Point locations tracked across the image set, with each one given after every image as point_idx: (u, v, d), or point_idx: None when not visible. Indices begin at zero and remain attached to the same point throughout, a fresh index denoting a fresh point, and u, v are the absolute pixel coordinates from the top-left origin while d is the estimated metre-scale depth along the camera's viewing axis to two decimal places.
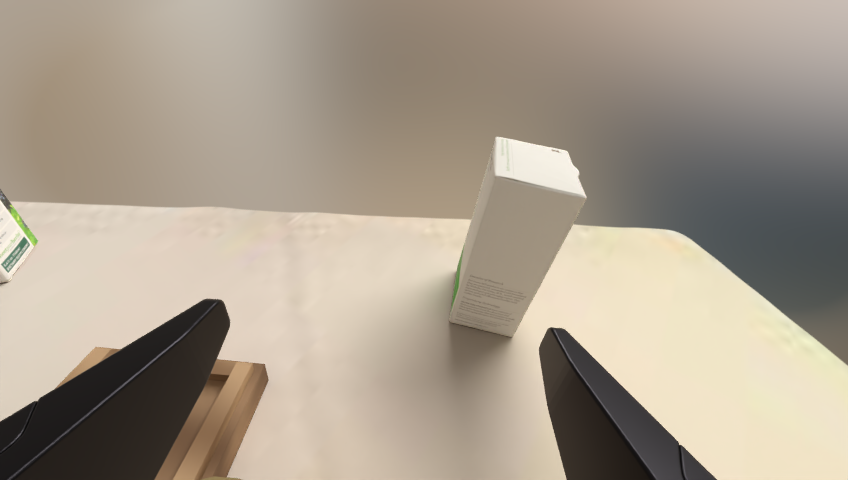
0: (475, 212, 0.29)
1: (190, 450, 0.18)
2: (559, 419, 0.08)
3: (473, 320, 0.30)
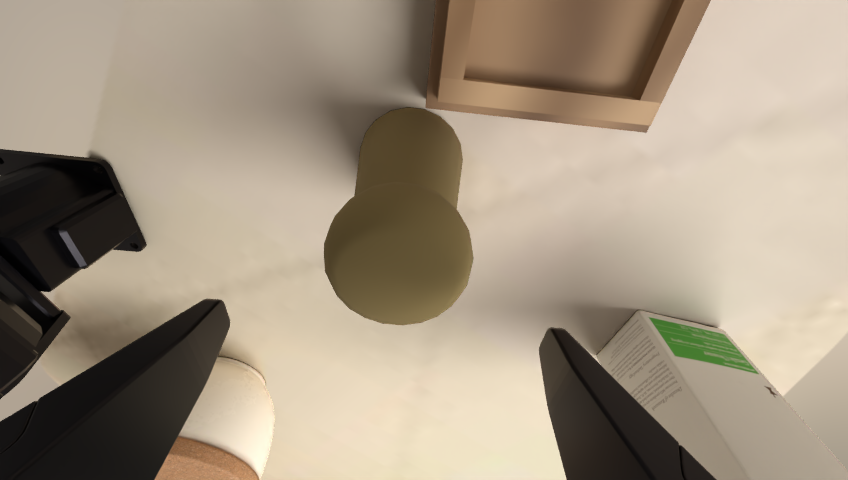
0: (793, 451, 0.19)
1: (544, 91, 0.15)
2: (559, 419, 0.08)
3: (628, 337, 0.26)
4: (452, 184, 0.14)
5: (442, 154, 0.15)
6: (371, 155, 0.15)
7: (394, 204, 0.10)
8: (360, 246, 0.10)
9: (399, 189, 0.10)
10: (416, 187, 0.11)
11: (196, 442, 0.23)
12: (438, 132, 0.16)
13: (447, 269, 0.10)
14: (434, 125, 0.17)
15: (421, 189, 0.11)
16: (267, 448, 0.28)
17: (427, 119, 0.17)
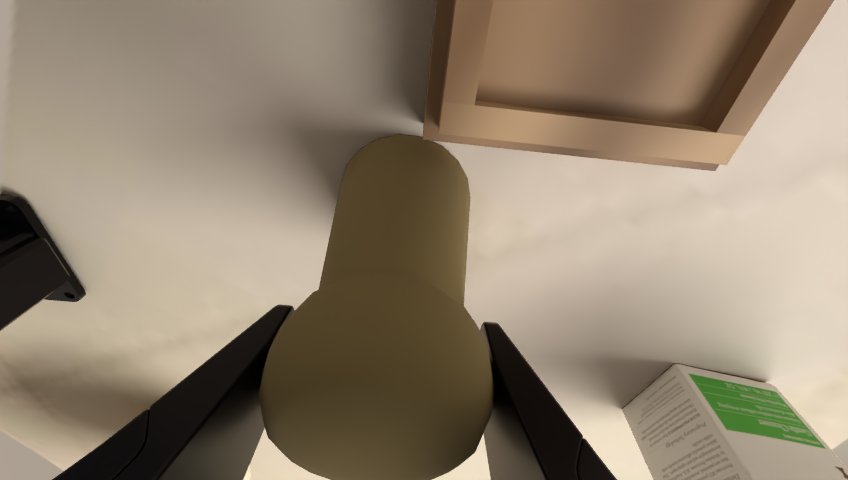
0: None
1: (585, 121, 0.11)
2: None
3: (662, 396, 0.22)
4: (459, 250, 0.10)
5: (445, 204, 0.11)
6: (348, 207, 0.11)
7: (367, 336, 0.06)
8: (309, 409, 0.06)
9: (378, 298, 0.06)
10: (405, 291, 0.07)
11: None
12: (439, 170, 0.12)
13: (456, 436, 0.06)
14: (434, 160, 0.13)
15: (413, 294, 0.07)
16: None
17: (426, 152, 0.13)
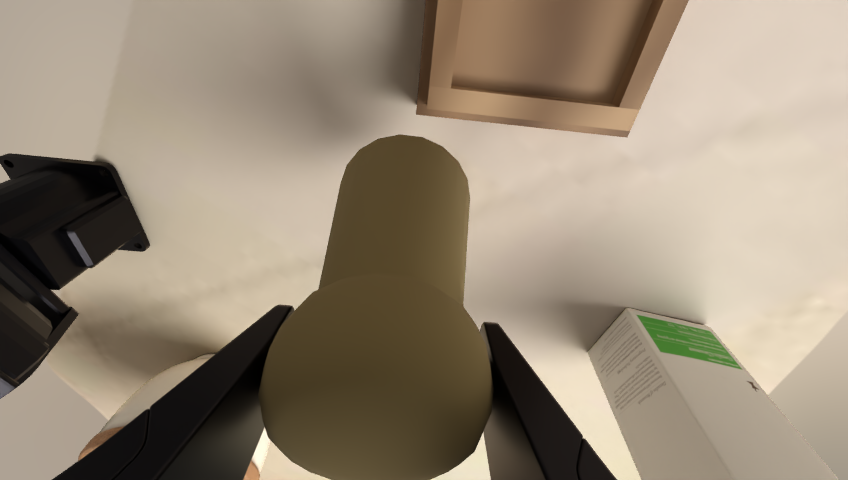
0: (771, 442, 0.19)
1: (528, 99, 0.15)
2: None
3: (616, 334, 0.27)
4: (459, 250, 0.10)
5: (445, 204, 0.11)
6: (347, 207, 0.11)
7: (367, 335, 0.06)
8: (308, 408, 0.06)
9: (377, 298, 0.06)
10: (404, 291, 0.07)
11: None
12: (439, 170, 0.12)
13: (455, 435, 0.06)
14: (434, 160, 0.13)
15: (412, 294, 0.07)
16: (267, 442, 0.28)
17: (425, 152, 0.13)
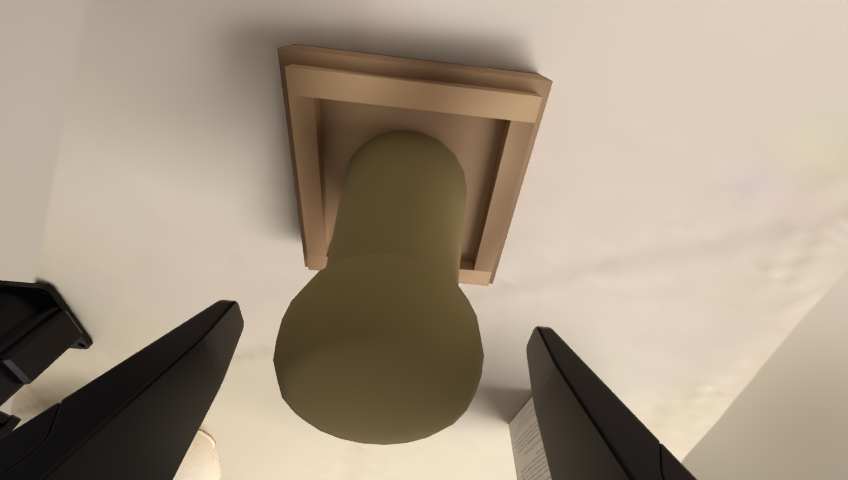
0: None
1: None
2: (544, 418, 0.08)
3: (527, 415, 0.29)
4: (454, 235, 0.11)
5: (441, 194, 0.12)
6: (350, 198, 0.12)
7: (368, 302, 0.07)
8: (317, 366, 0.07)
9: (377, 272, 0.07)
10: (401, 266, 0.07)
11: None
12: (436, 163, 0.13)
13: (447, 391, 0.07)
14: (431, 153, 0.14)
15: (408, 269, 0.07)
16: None
17: (423, 146, 0.14)
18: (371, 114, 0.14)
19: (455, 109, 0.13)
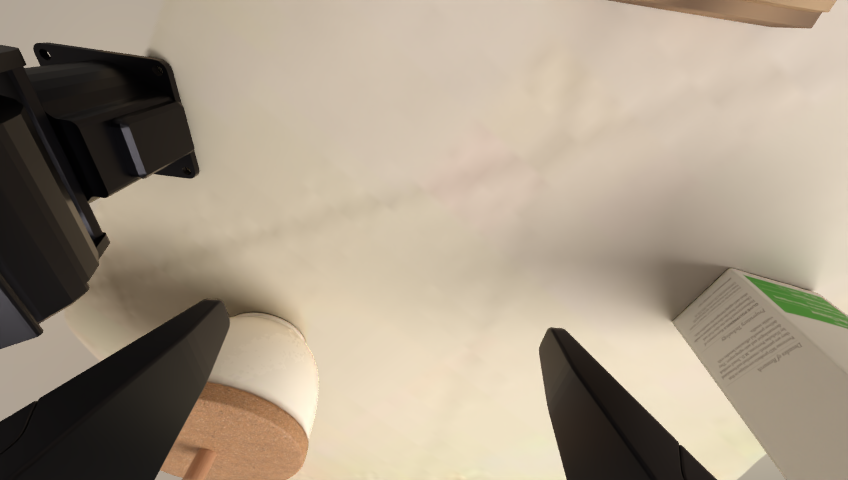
0: None
1: None
2: (559, 419, 0.08)
3: (717, 298, 0.24)
4: None
5: None
6: None
7: None
8: None
9: None
10: None
11: (249, 394, 0.20)
12: None
13: None
14: None
15: None
16: (314, 411, 0.25)
17: None
18: None
19: None
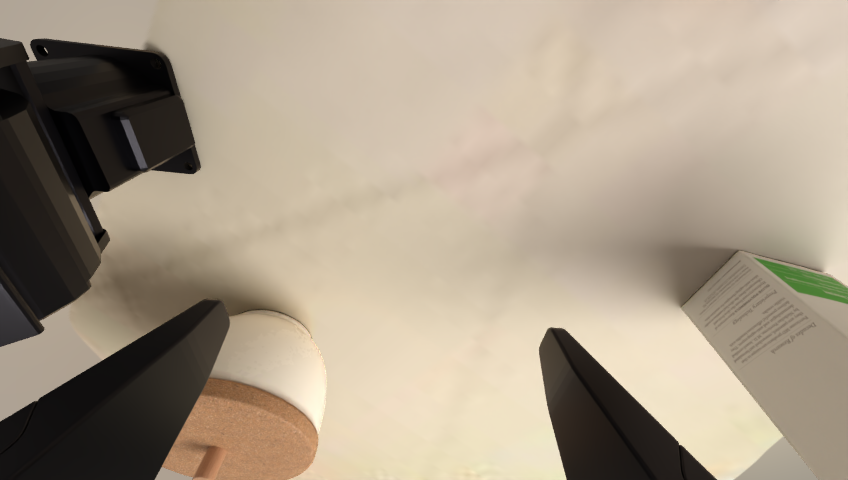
0: None
1: None
2: (559, 419, 0.08)
3: (726, 281, 0.24)
4: None
5: None
6: None
7: None
8: None
9: None
10: None
11: (257, 389, 0.20)
12: None
13: None
14: None
15: None
16: (323, 406, 0.25)
17: None
18: None
19: None
